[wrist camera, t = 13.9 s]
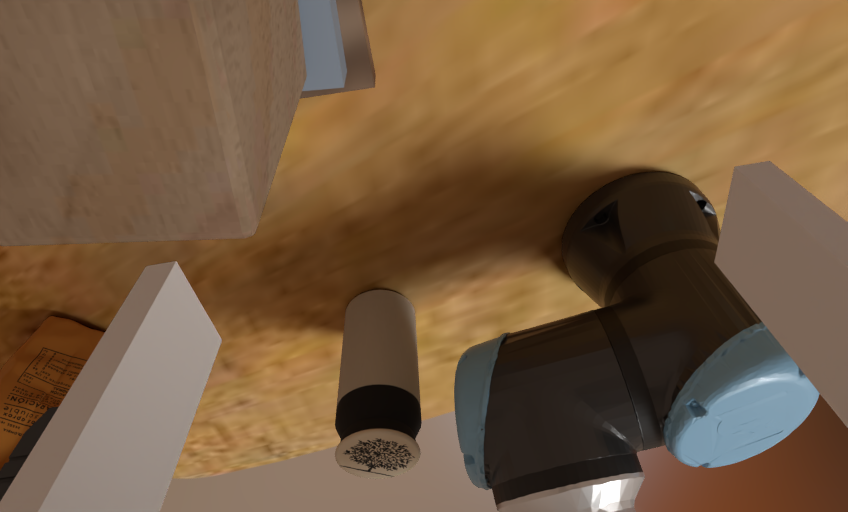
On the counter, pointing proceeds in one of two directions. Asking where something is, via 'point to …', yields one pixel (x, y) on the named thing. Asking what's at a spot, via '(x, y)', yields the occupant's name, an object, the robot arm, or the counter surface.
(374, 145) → the counter surface
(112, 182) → the wooden block
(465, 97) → the counter surface
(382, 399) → the travel mug
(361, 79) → the walnut slab
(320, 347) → the counter surface
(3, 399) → the coffee package
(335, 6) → the slate slab
